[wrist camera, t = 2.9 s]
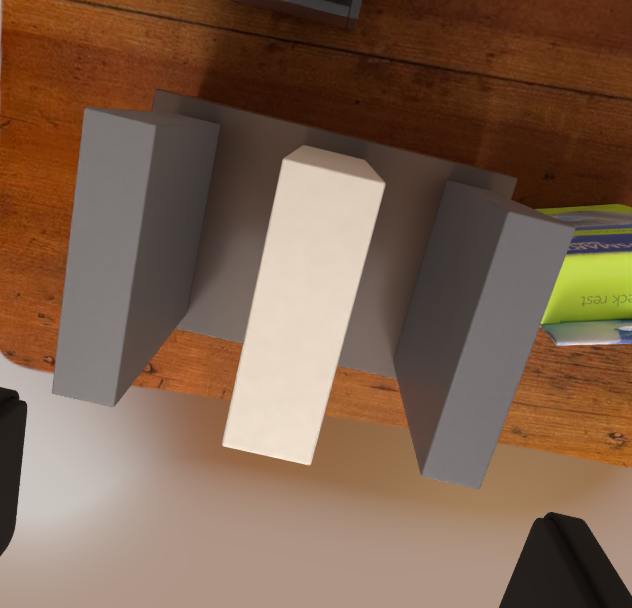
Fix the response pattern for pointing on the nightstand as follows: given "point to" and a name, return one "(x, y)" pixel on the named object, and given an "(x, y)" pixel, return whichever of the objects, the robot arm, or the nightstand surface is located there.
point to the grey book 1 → (130, 245)
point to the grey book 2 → (474, 326)
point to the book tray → (315, 10)
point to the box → (593, 278)
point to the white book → (302, 302)
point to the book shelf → (256, 206)
